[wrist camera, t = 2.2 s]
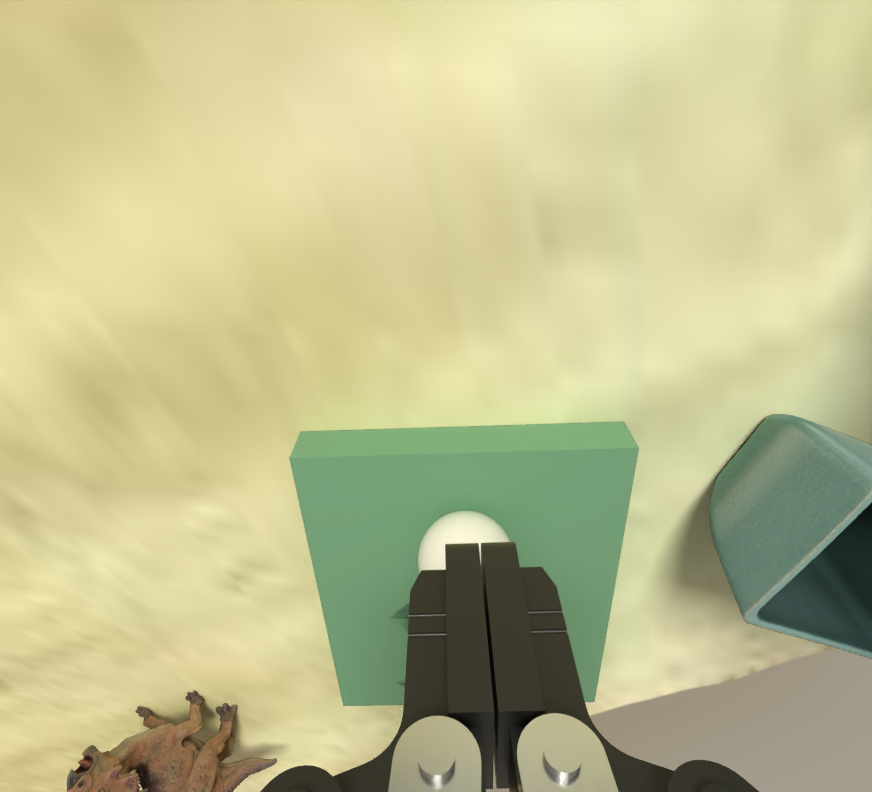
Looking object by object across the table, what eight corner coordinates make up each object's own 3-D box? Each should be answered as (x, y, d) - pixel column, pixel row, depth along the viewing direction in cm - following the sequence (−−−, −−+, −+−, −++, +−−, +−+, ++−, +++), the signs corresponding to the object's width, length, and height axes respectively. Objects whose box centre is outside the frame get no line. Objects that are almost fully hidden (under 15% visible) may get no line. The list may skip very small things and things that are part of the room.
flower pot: (787, 534, 33) (894, 668, 25) (666, 494, 32) (739, 623, 24) (893, 423, 29) (1058, 543, 21) (760, 372, 28) (885, 479, 20)
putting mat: (624, 421, 29) (638, 447, 27) (586, 669, 40) (594, 701, 38) (300, 431, 30) (289, 458, 28) (348, 673, 41) (343, 705, 38)
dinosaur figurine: (104, 700, 43) (25, 841, 35) (129, 663, 40) (51, 805, 32) (258, 755, 47) (219, 893, 38) (289, 724, 44) (255, 864, 36)
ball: (510, 489, 29) (522, 560, 24) (507, 557, 31) (518, 632, 27) (416, 492, 29) (412, 563, 24) (422, 558, 31) (418, 634, 27)
